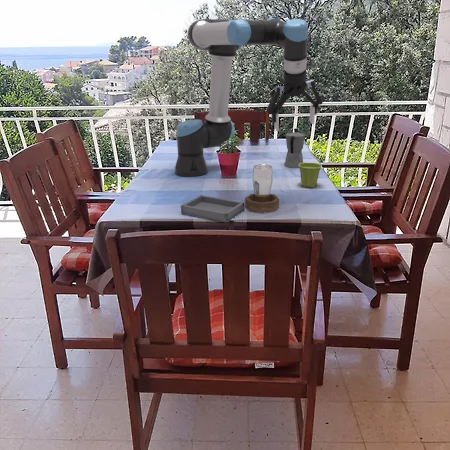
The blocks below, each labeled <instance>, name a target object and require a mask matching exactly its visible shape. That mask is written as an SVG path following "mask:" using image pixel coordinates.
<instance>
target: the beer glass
mask: <svg viewBox="0 0 450 450" xmlns="http://www.w3.org/2000/svg"><path fill="white" fill-rule="evenodd" d="M272 186H273V166H272V165H271V164H266V163H265V164H262V163H261V164H260V163H259V164H255V165H253V168H252V187H253V194H255V202H261V203H262V202H270V194H271V191H272Z"/></svg>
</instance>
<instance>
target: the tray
mask: <svg viewBox="0 0 450 450" xmlns="http://www.w3.org/2000/svg"><path fill="white" fill-rule="evenodd" d="M241 212H242V213H243V212H245V201H244V202H243V201H237V200H232V199H226V198H221V197H220V198H219V197H215V196H209V195H202V194H200V195H198V196H197V197H195V198H192V199H191V200H189V201H187V202H185V203H183V204H181V205H180V214H181V213H182V214H181V215H185V214H189V215H188V216H190V215H193V216H192V217H195V216H198V217H197V218H200V217H203V218H202V219H205V218H207V220H210V219H212V220H211V221H216V222H221V223H228V222H230V221H231V220H233V219H234V218H236V217H237V216H239V215H240V214H241ZM238 214H239V215H238ZM235 216H236V217H235ZM232 218H233V219H232Z"/></svg>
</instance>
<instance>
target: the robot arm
mask: <svg viewBox="0 0 450 450" xmlns="http://www.w3.org/2000/svg"><path fill="white" fill-rule="evenodd" d="M308 37H309V32H308V23H307V22H306V20H304V19H299V18H293V19H289V20H287V21H283V20H282V19H279V18H274V17H269V18H268V19H266V20H264V19H263V20H262V19H258V20H256V19H243V18H242V19H241V18H240V19H239V18H238V19H228V18H222V19H221V18H219V19H218V18H217V19H215V18H214V19H212V18H210V19H207V18H203V19H202V18H201V19H198V20H195V21H193V22H192V23H191V24H190V25H189V28H188V30H187V39H188V41H189V42H188V43H189V44H190V45H191V46H192V47H193V48H195V49H196V50H199V51H208V55H209V56H210V58H211V67H210V68H211V70H210V71H211V72H210V85H209V86H210V87H209V88H210V89H209V90H210V91H209V105H208V106H209V107H208V114H206V115H205V118H204V122H203V120H202V119H197V118H196V119H188V120H184V121H181V122H179V123H178V124H177V126H176V133H175V134H176V142H177V143H176V144H177V145H176V146H177V160H176V163H175V166H174V174H175V175H176V176H180V177H193V178H194V177H200V176H203V175H206V174H208V173H209V172H208V170H209V169H208V168H209V167H208V165H207V161H206V159H205V156H204V149H210V148H219V147H220V146H221V144H222V143H223V142H224V141H226V140H229V138H230V137H231V135H233V134H234V136H235V135H236V129H235V123H233V121H232V120H231V117H230V116H229V115H228V114H229V102H230V89H231V81H232V80H231V77H232V67H233V64H232V63H233V59H234V58H235V57H237V51H238V50H241V49H242V46H255V45H256V46H268V45H269V46H270V45H271V46H274V45H275V46H277V47H278V48H281V49H283V85H282V86H281V85H280V86H279V85H278V84H277V85H275V86H274V92H273V94H272V96H271V99H270V101H269V103H268V105H267V108H266V112H267V113H268V115H271V121H272V123H274V129H275V130H276V131H277V132H279V131H280V128H279V127H280V124H279V120H280V119H279V118H280V117H279V111H280V110H281V109H282V107H283V106H284V105H285V103H286V102H287V101H288V100H289V99H290V98H295V97H300V96H303V97H305V99H307V100H308V102H309V103H310V105H309V123H311V124H312V125H314V124H315V115H317V113H318V108H319V105H323V102H324V101H323V99H322V98H321V96H320V93H319V91H318V90H317V88H316V82H315V81H314V79H313V78H310V79H309V80H307V70H306V69H307V65H308V64H307V58H308V57H307V54H308ZM307 86H308V87H309V88H310V90H311V92H312V93H313V96H314V98H315V100H314V98H312V97H311V96H310V95H309V94H308V92H307V91H305V90H306V88H307ZM280 94H282V95H281V97H280ZM279 97H280V98H279ZM220 148H221V147H220Z"/></svg>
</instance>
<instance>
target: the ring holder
mask: <svg viewBox="0 0 450 450" xmlns="http://www.w3.org/2000/svg"><path fill="white" fill-rule="evenodd" d="M244 208H246V209H247V210H248V212H252V211H254V212H253V213H258V212H259V214H265V213H264V212H267V213H272V212H271V211H274V212H276V211H277V210H278V209H279V208H280V198H279V197H278V196H277V195H276V194H273V193H270V202H262V203H261V202H255V194H254V193H250V194H248V195H247V196H246V197H245V198H244ZM276 209H277V210H276Z"/></svg>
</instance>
